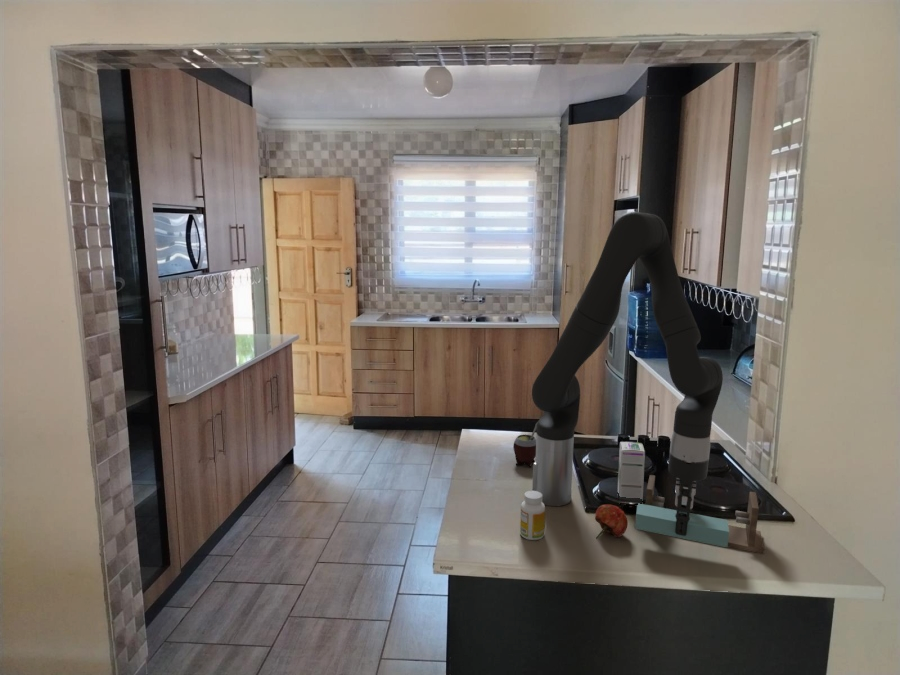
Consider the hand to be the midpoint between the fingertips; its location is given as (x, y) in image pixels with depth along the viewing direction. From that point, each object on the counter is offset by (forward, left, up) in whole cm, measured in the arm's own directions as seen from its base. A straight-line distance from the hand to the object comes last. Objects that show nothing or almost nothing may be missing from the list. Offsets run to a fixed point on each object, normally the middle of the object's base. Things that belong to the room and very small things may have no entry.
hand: (681, 527), depth 121 cm
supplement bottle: (-31, -7, -6) cm, 32 cm away
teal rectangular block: (0, 0, -1) cm, 1 cm away
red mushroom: (-15, 0, -6) cm, 16 cm away
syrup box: (-13, +19, -6) cm, 24 cm away
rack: (+3, +10, -5) cm, 12 cm away
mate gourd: (-43, +30, -6) cm, 53 cm away
